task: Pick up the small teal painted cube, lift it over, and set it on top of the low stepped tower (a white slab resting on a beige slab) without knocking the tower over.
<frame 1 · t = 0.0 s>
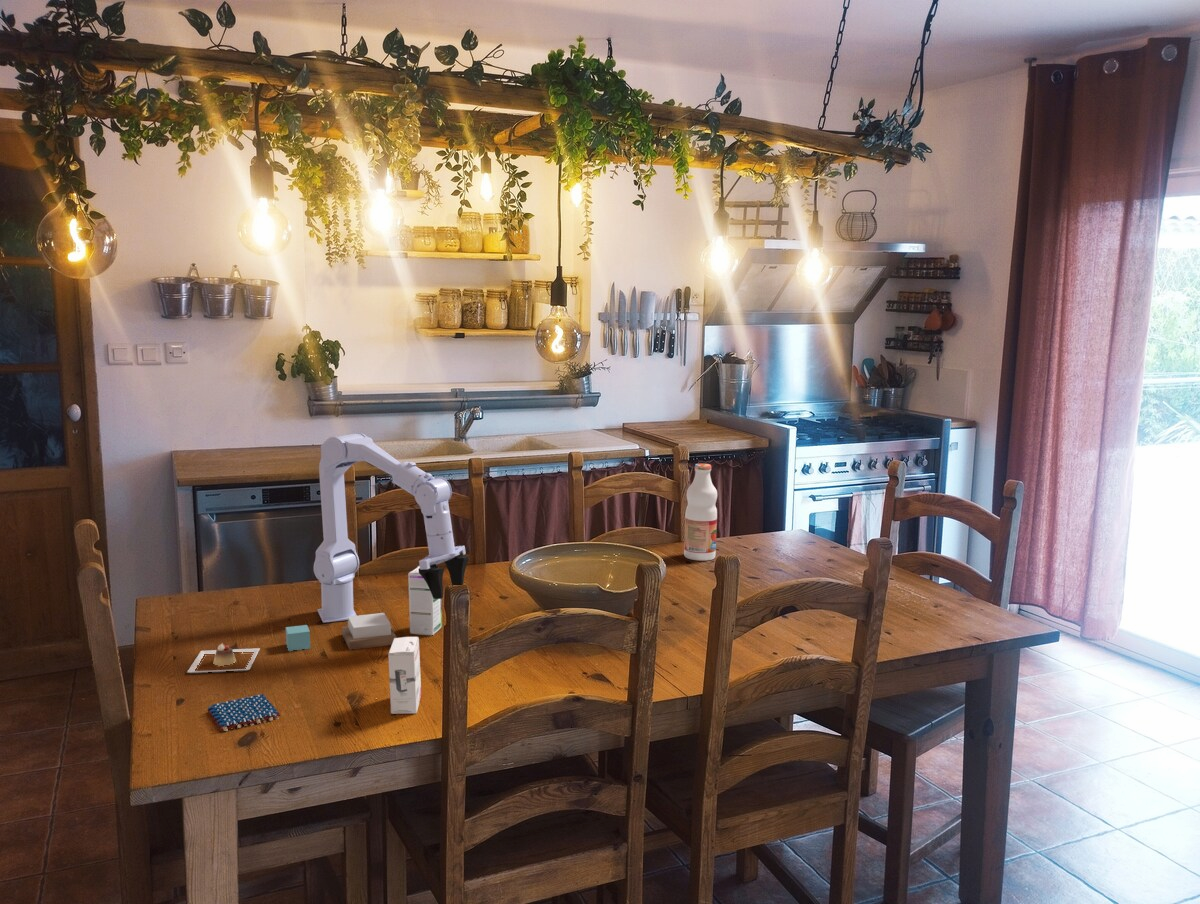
hand: (448, 593, 211), 11 cm above the table, tool pointing down, fingers open, 7 cm apart
ink box: (405, 705, 179), on the table
teal cube: (298, 647, 207), on the table
fruit juice: (699, 557, 285), on the table
white slab: (369, 630, 212), point 2 cm above the table, touching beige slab
syrup box: (425, 631, 218), on the table
dessert: (224, 665, 198), on the table
woven mat: (244, 719, 173), on the table
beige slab: (369, 642, 212), on the table, touching white slab
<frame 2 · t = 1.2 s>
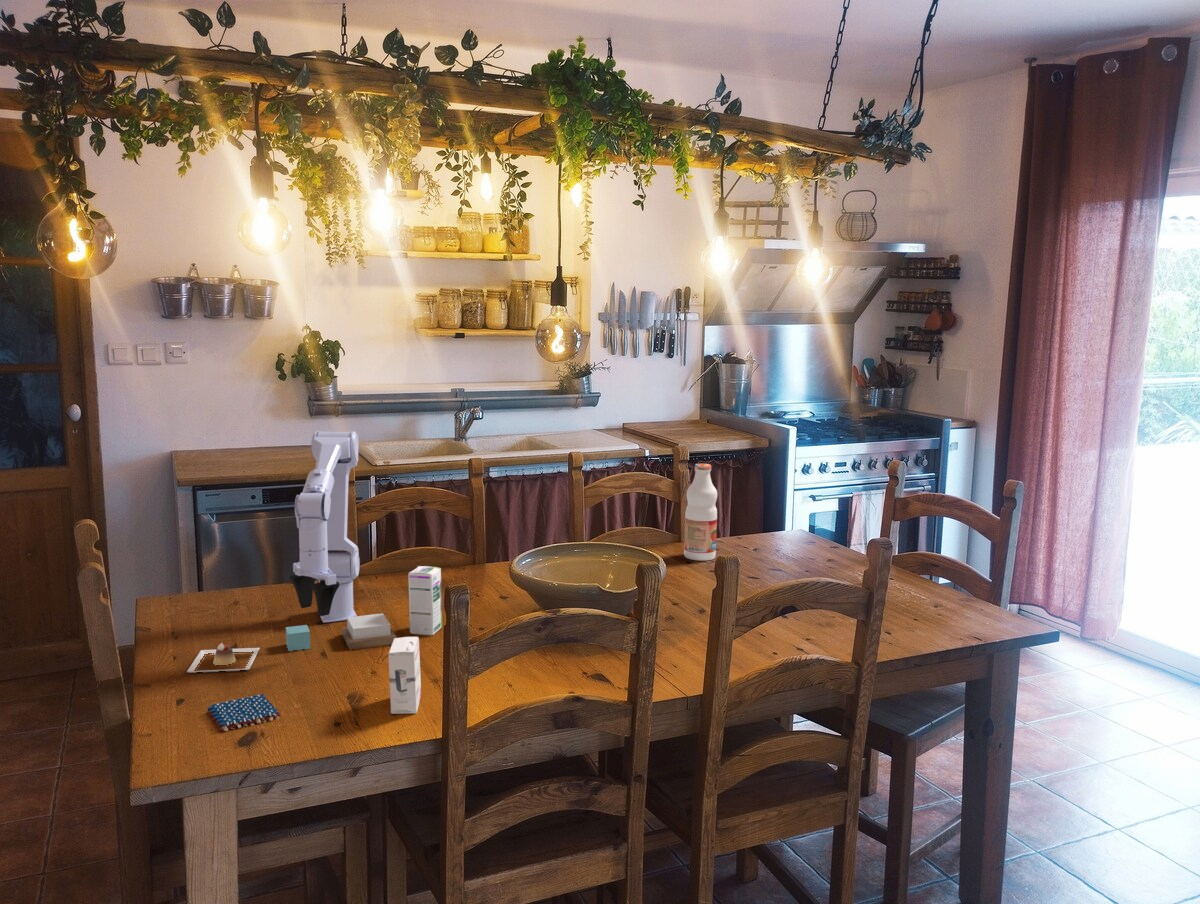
hand: (315, 611, 204), 9 cm above the table, tool pointing down, fingers open, 7 cm apart
nothing on the table moved.
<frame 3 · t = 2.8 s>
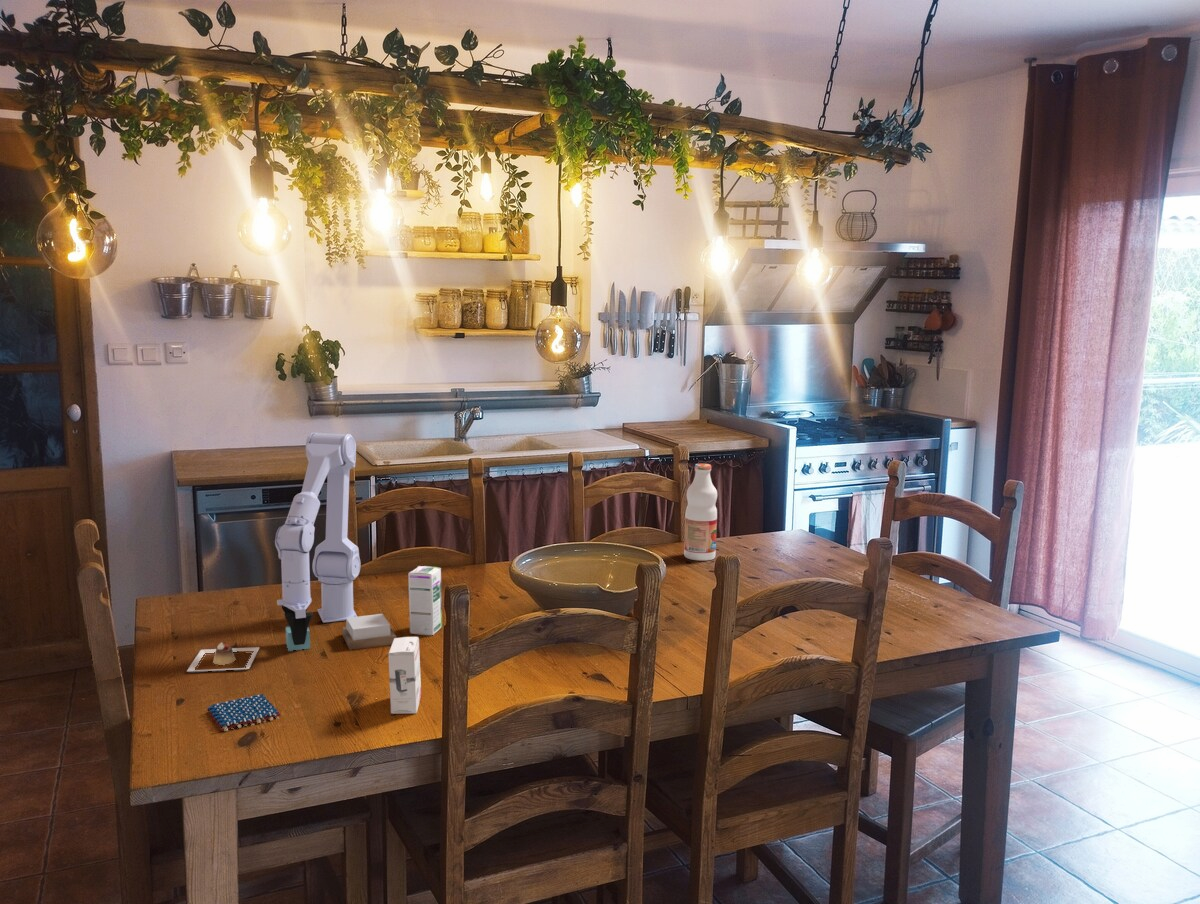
hand: (297, 640, 207), 1 cm above the table, tool pointing down, fingers closed on teal cube, 4 cm apart
teal cube: (298, 646, 207), on the table, touching gripper
white slab: (368, 632, 211), point 2 cm above the table
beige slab: (369, 642, 212), on the table
everything else where it was.
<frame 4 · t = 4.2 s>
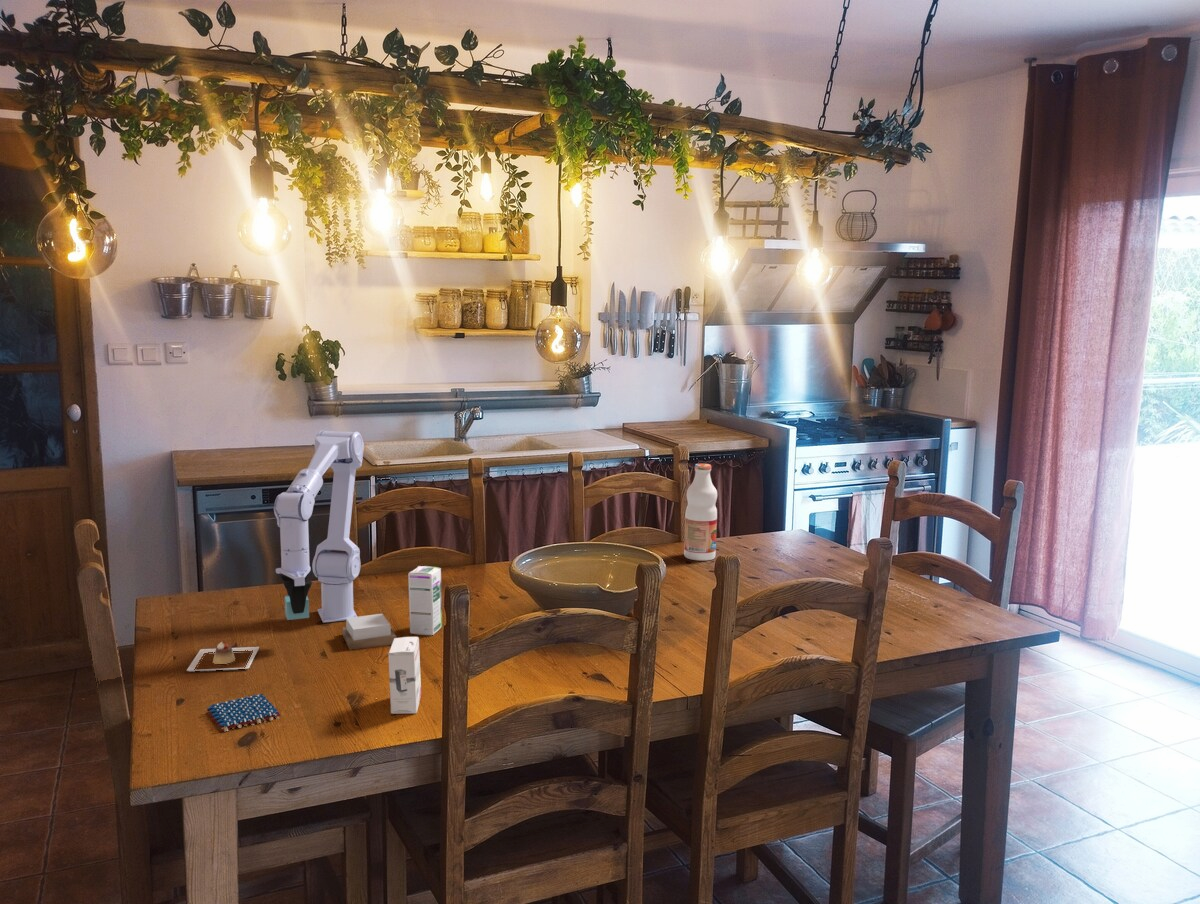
hand: (296, 609, 206), 8 cm above the table, tool pointing down, fingers closed on teal cube, 4 cm apart
teal cube: (297, 615, 206), point 7 cm above the table, touching gripper
white slab: (368, 632, 211), point 2 cm above the table, touching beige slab
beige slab: (369, 642, 212), on the table, touching white slab
everything else where it was.
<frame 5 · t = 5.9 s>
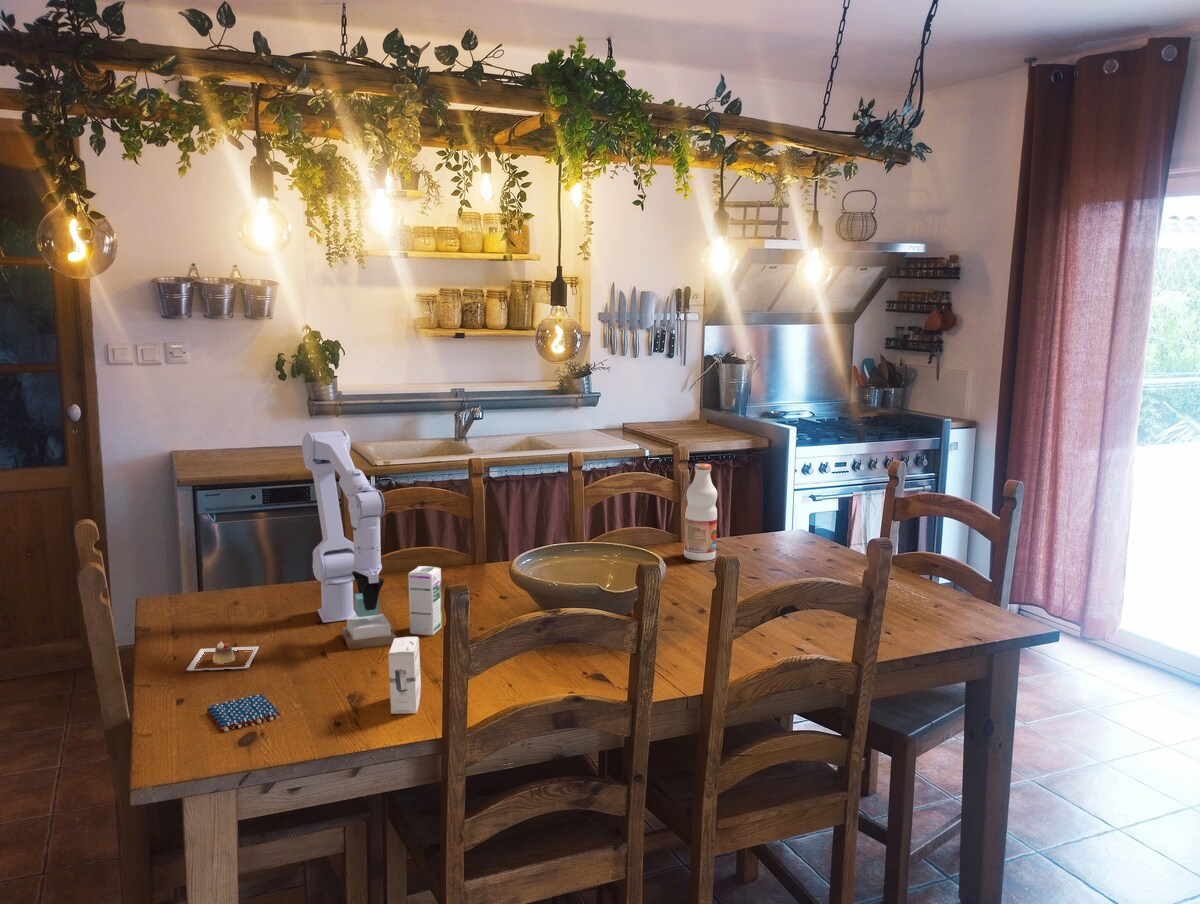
hand: (368, 605, 211), 8 cm above the table, tool pointing down, fingers closed on teal cube, 4 cm apart
teal cube: (367, 612, 211), point 6 cm above the table, touching gripper
when the fingers open (8 cm above the table, at t = 6.0 s): teal cube drops 2 cm, resting on white slab.
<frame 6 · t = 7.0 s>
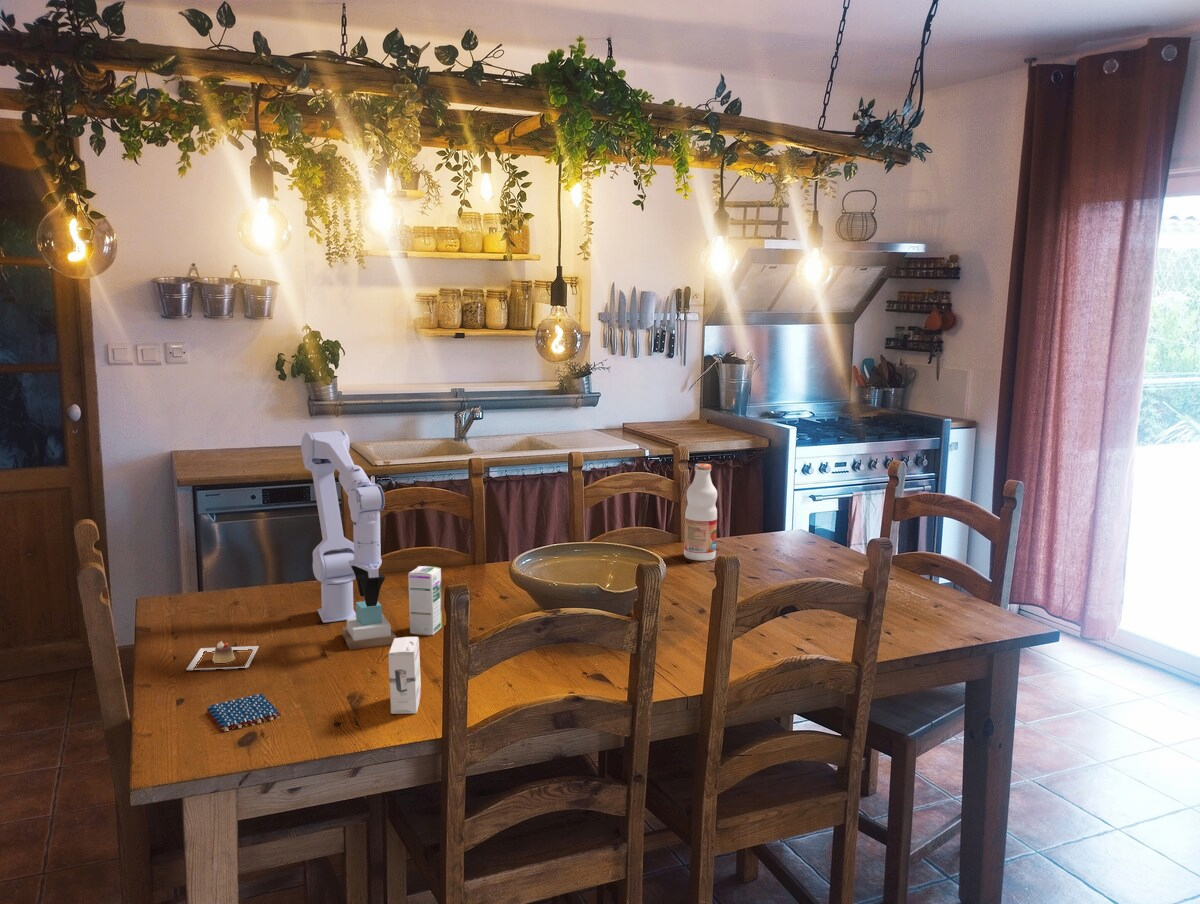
hand: (368, 600, 211), 9 cm above the table, tool pointing down, fingers open, 7 cm apart
teal cube: (369, 621, 211), point 4 cm above the table, touching white slab
white slab: (368, 632, 211), point 2 cm above the table, touching teal cube, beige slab
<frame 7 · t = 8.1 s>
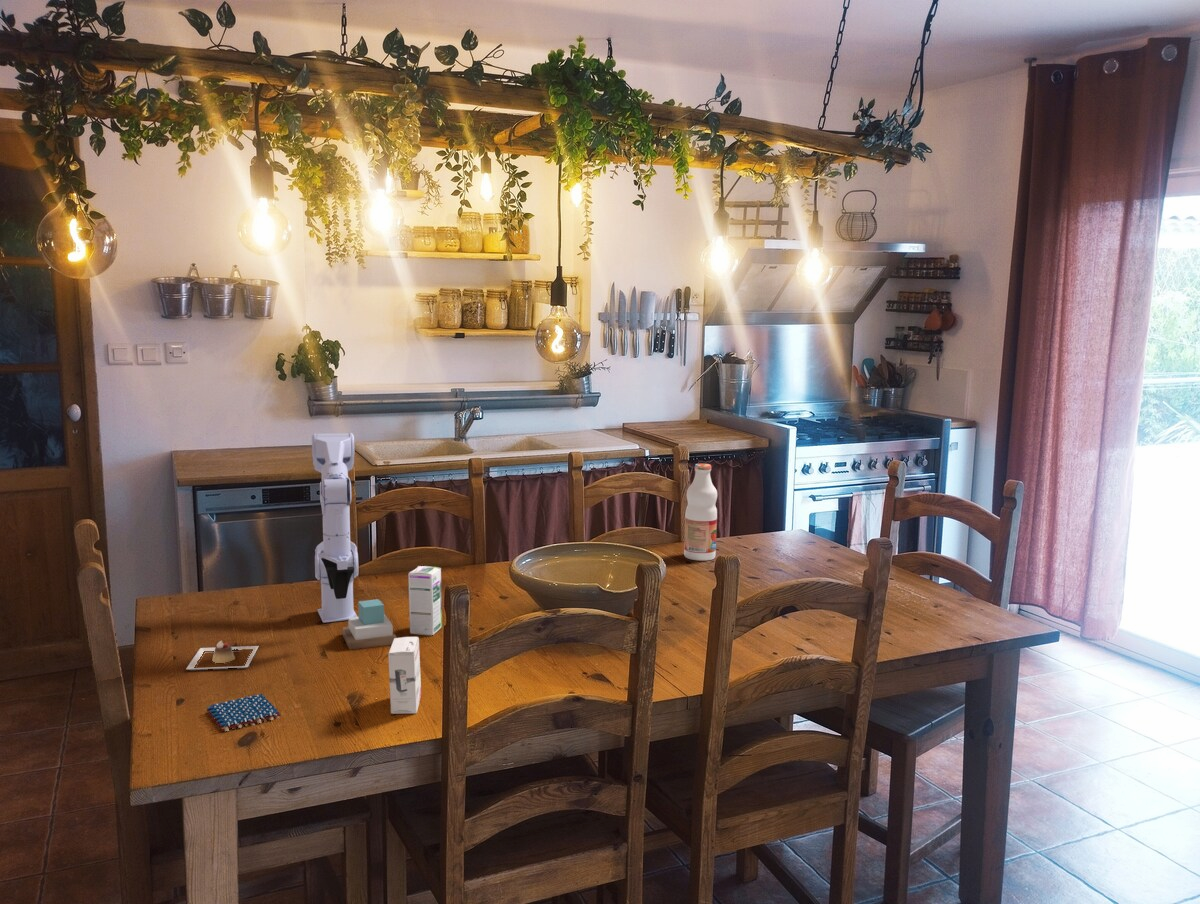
hand: (338, 593, 211), 10 cm above the table, tool pointing down, fingers open, 7 cm apart
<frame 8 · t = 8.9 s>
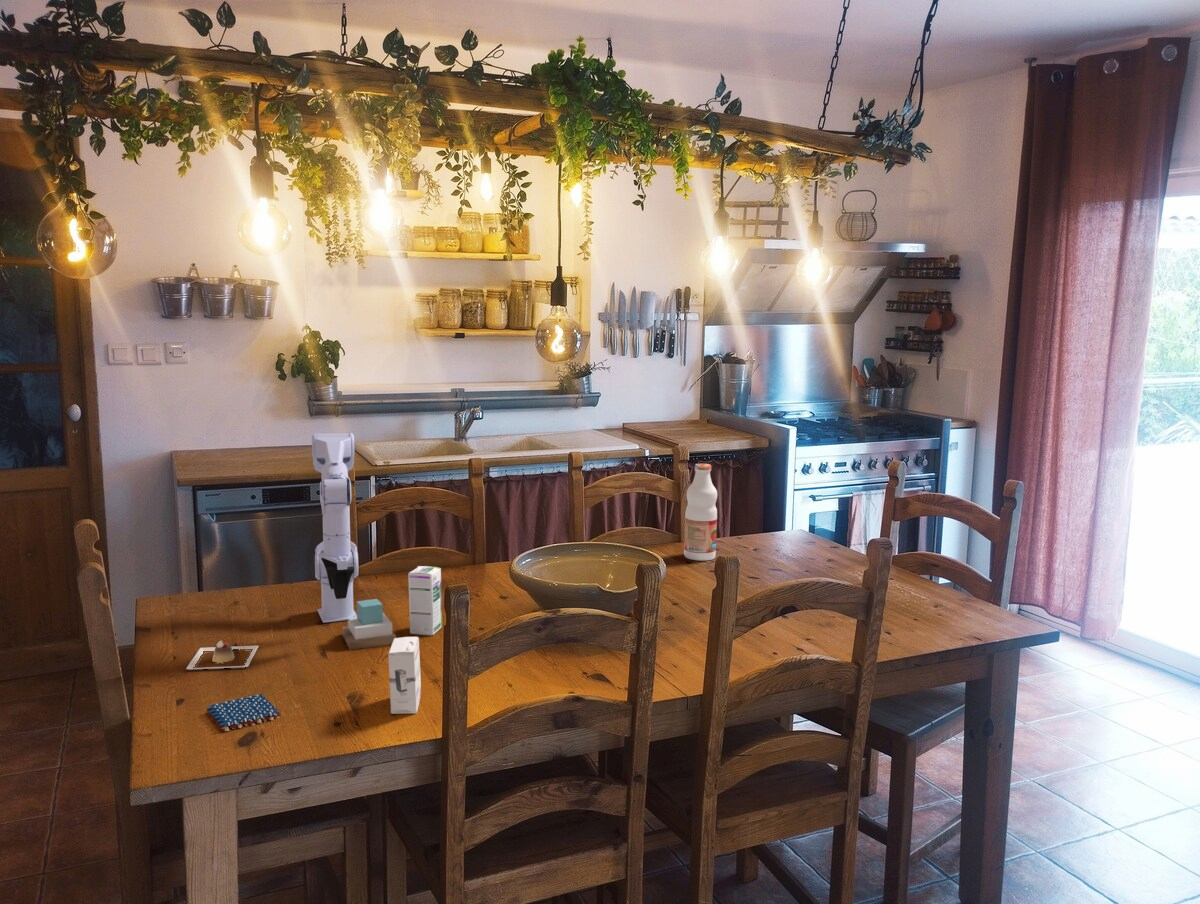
hand: (338, 593, 211), 10 cm above the table, tool pointing down, fingers open, 7 cm apart
at the end: teal cube 0.2 cm off-centre on the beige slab, point 5.0 cm above the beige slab's base; white slab 0.3 cm off-centre on the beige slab, point 2.5 cm above the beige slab's base; the gripper is holding nothing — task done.
